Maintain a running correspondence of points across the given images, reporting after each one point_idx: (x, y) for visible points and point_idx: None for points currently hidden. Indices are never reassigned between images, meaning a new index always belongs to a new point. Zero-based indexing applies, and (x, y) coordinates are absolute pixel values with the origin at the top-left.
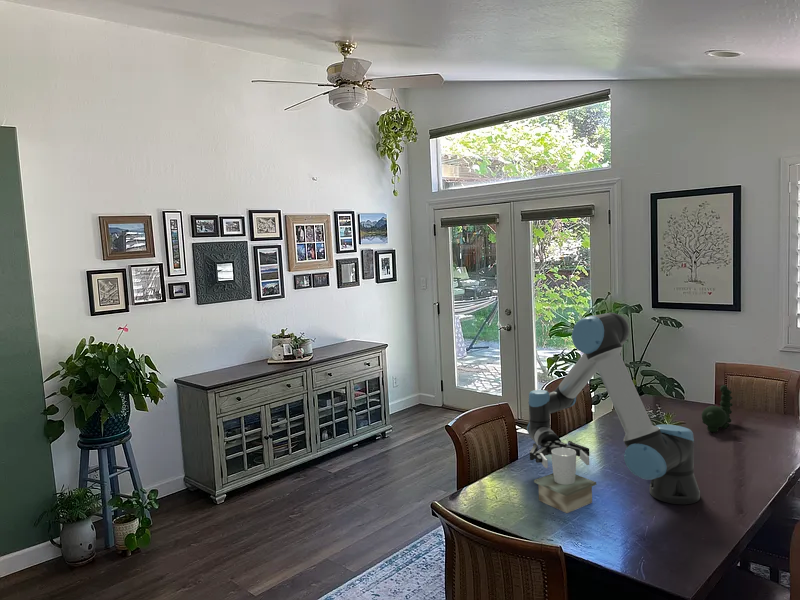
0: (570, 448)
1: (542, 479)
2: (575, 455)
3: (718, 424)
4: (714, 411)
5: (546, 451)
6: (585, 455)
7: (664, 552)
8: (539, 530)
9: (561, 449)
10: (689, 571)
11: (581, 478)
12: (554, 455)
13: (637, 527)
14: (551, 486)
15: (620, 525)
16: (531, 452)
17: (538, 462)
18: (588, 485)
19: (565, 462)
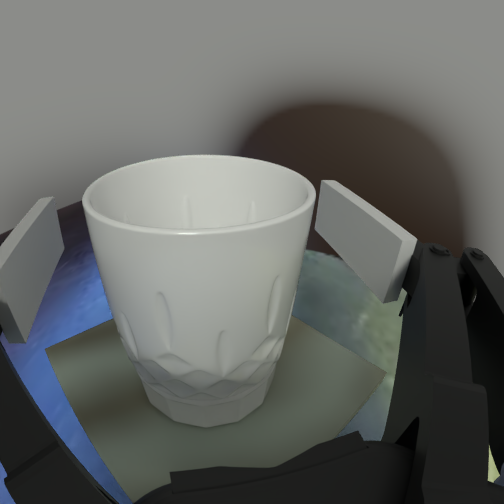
0: (97, 212)
1: (342, 386)
2: (119, 184)
3: None
4: None
5: (401, 407)
6: (41, 209)
7: (76, 230)
8: (303, 274)
9: (196, 249)
10: (80, 208)
11: (91, 399)
12: (280, 177)
13: (58, 283)
14: None
15: (89, 291)
16: (474, 250)
17: (402, 311)
18: (96, 327)
19: (205, 201)
